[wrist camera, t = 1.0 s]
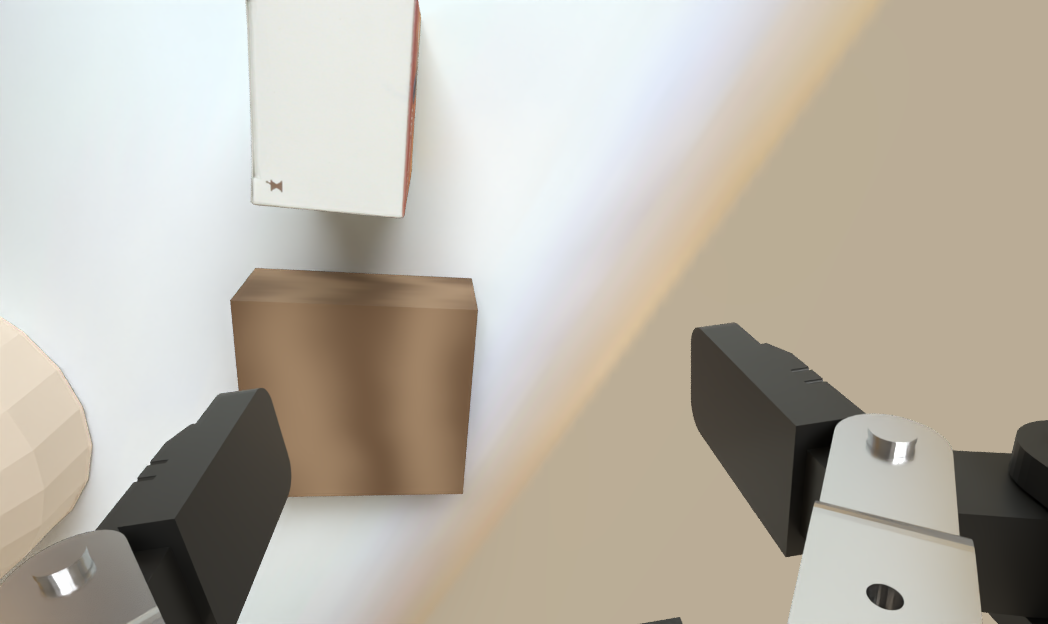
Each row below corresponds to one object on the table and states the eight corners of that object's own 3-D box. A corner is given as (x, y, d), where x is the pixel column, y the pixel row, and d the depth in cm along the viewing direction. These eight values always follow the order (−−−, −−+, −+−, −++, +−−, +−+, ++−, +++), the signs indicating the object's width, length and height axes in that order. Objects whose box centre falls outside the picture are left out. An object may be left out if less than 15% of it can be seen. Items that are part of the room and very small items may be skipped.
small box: (411, 173, 32) (405, 226, 23) (303, 160, 31) (248, 210, 22) (423, 9, 29) (421, -10, 20) (303, -12, 28) (239, -42, 19)
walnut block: (269, 443, 38) (248, 497, 33) (256, 266, 33) (230, 300, 29) (458, 443, 40) (462, 493, 36) (471, 276, 35) (477, 309, 31)
